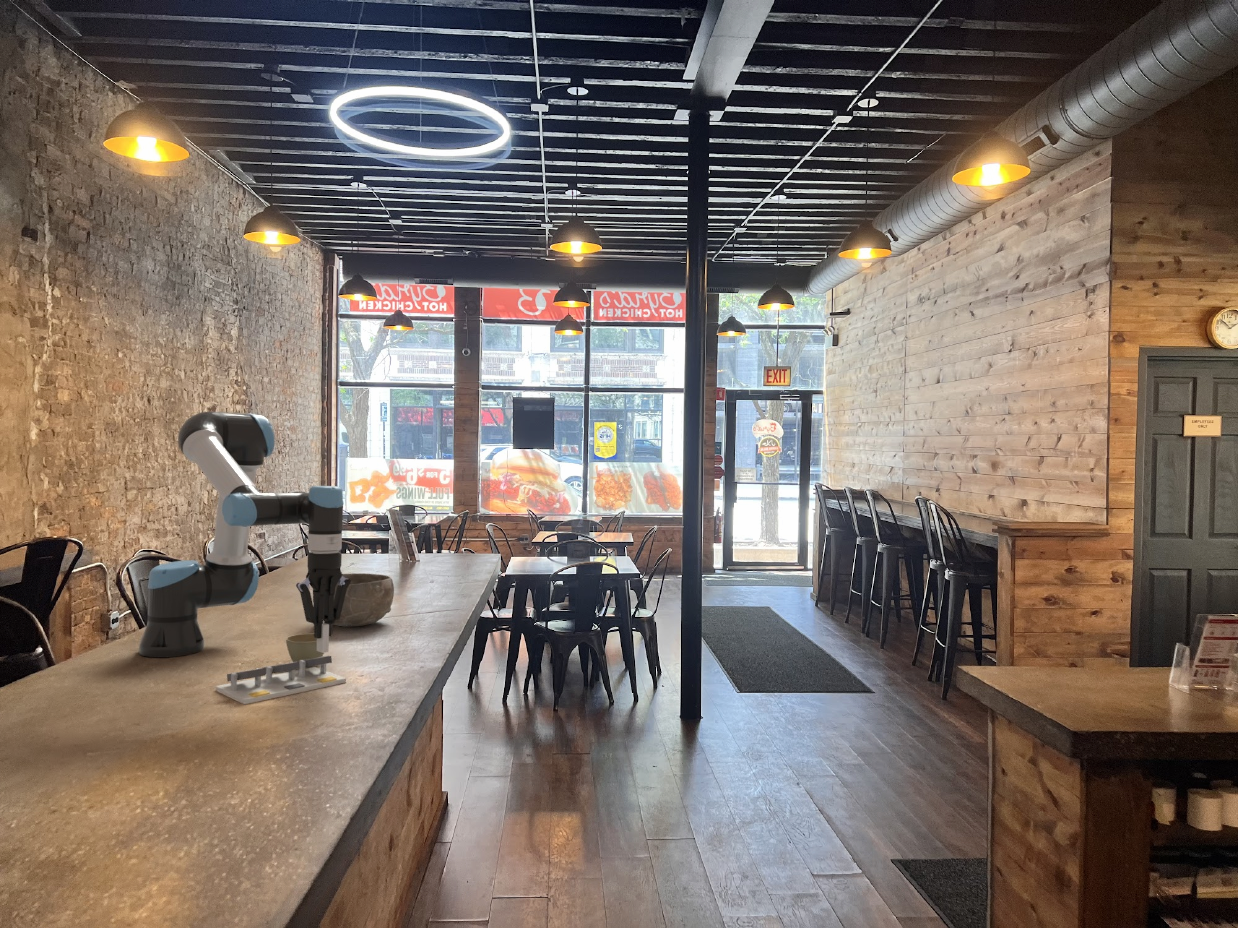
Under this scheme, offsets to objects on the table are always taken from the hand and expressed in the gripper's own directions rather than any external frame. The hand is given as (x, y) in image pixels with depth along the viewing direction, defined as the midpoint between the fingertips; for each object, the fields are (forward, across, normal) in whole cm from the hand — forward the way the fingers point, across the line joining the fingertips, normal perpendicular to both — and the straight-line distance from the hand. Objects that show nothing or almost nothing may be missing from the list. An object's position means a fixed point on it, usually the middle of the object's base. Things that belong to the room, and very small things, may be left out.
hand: (322, 651), depth 189 cm
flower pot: (+8, +5, +16) cm, 19 cm away
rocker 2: (+3, -8, +4) cm, 10 cm away
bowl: (+7, +39, +50) cm, 64 cm away
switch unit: (+7, -8, +3) cm, 11 cm away
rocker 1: (+3, -16, +4) cm, 17 cm away
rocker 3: (+3, 0, +4) cm, 5 cm away
